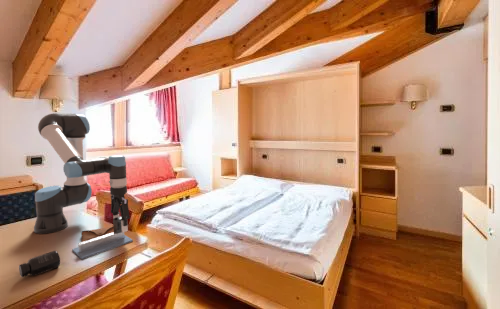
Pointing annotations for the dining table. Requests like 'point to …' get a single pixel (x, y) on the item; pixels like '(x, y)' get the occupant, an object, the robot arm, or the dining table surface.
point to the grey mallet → (103, 238)
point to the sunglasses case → (95, 233)
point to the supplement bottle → (40, 264)
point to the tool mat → (102, 248)
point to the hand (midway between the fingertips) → (120, 229)
